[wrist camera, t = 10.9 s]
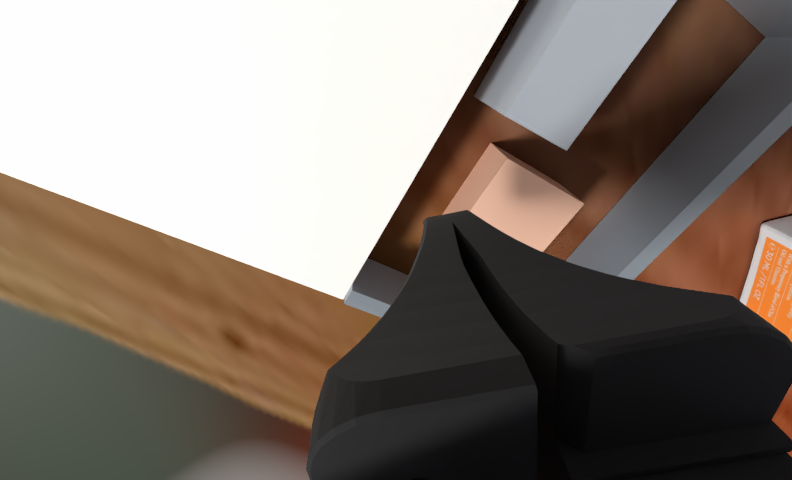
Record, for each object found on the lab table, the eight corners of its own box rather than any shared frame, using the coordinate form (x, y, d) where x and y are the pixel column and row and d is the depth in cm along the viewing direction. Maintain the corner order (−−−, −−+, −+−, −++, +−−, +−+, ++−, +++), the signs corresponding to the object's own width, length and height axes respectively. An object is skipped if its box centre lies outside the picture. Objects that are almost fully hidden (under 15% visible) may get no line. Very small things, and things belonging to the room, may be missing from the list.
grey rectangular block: (551, -42, 12) (604, -3, 13) (473, 96, 15) (522, 124, 15) (620, -71, 9) (687, -15, 10) (505, 115, 11) (566, 151, 12)
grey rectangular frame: (795, 27, 14) (893, 26, 11) (515, 332, 21) (535, 374, 19) (594, -172, 11) (664, -236, 8) (347, 264, 18) (344, 303, 16)
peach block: (507, 158, 14) (489, 141, 16) (436, 257, 16) (429, 230, 18) (584, 203, 15) (557, 181, 17) (509, 290, 17) (493, 261, 19)
